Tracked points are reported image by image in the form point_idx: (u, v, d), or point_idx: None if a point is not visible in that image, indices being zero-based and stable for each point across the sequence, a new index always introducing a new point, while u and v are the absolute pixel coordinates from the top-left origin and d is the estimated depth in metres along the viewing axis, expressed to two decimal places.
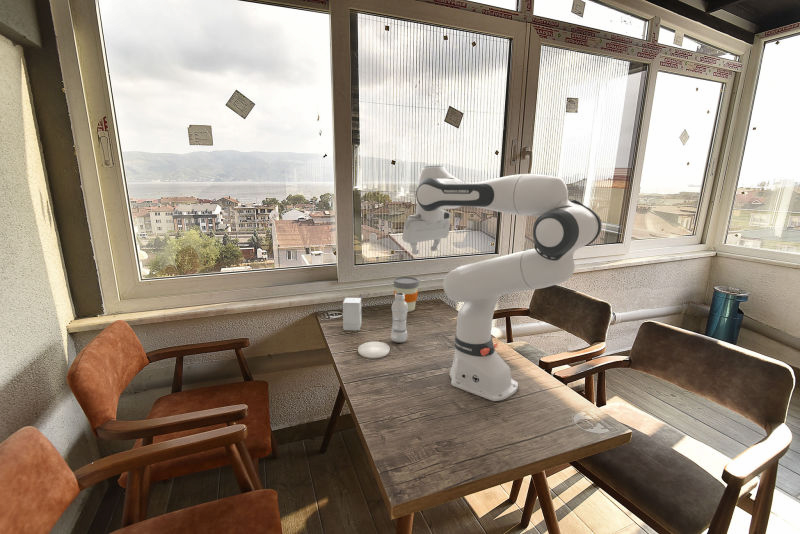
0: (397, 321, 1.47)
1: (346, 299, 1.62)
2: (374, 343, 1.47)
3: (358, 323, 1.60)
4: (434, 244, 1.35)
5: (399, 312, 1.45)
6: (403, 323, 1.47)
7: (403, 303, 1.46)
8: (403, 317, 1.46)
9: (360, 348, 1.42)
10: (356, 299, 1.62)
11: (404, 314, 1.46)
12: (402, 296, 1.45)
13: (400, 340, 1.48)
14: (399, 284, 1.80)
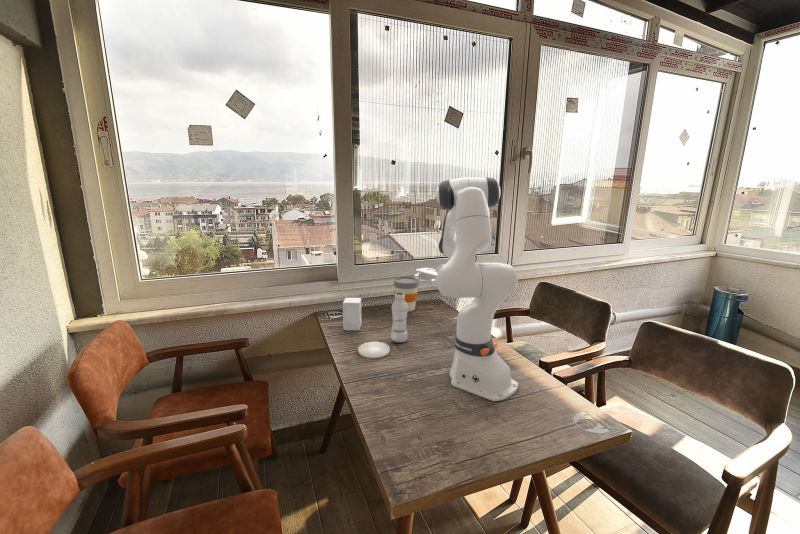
0: (397, 321, 1.47)
1: (346, 299, 1.62)
2: (374, 343, 1.47)
3: (358, 323, 1.60)
4: None
5: (399, 312, 1.45)
6: (403, 323, 1.47)
7: (403, 303, 1.46)
8: (403, 317, 1.46)
9: (360, 348, 1.42)
10: (356, 299, 1.62)
11: (404, 314, 1.46)
12: (402, 296, 1.45)
13: (400, 340, 1.48)
14: (399, 284, 1.80)
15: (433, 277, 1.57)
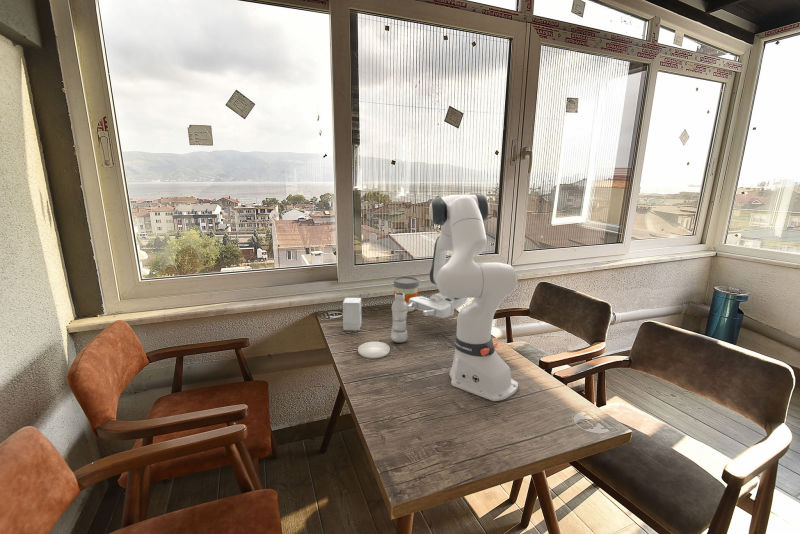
0: (397, 321, 1.47)
1: (346, 299, 1.62)
2: (374, 343, 1.47)
3: (358, 323, 1.60)
4: None
5: (399, 312, 1.45)
6: (403, 323, 1.47)
7: (403, 303, 1.46)
8: (403, 317, 1.46)
9: (360, 348, 1.42)
10: (356, 299, 1.62)
11: (404, 314, 1.46)
12: (402, 296, 1.45)
13: (400, 340, 1.48)
14: (399, 284, 1.80)
15: (426, 307, 1.57)
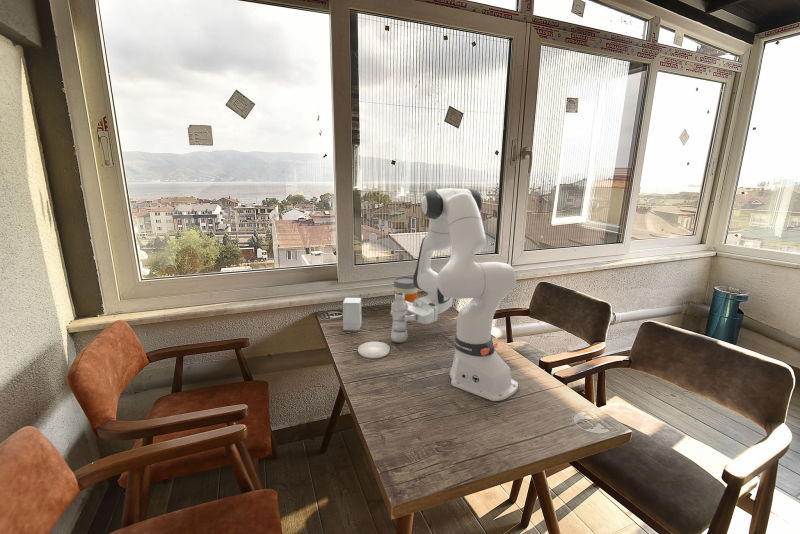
0: (397, 321, 1.47)
1: (346, 299, 1.62)
2: (374, 343, 1.47)
3: (358, 323, 1.60)
4: None
5: (399, 312, 1.45)
6: (403, 323, 1.47)
7: (403, 303, 1.46)
8: None
9: (360, 348, 1.42)
10: (356, 299, 1.62)
11: (404, 314, 1.46)
12: (402, 296, 1.45)
13: (400, 340, 1.48)
14: (399, 284, 1.80)
15: (409, 312, 1.51)
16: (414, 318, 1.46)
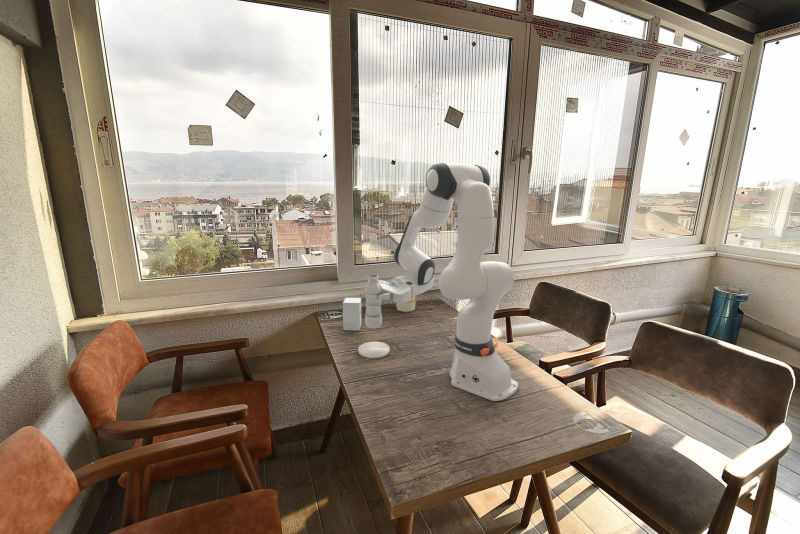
0: (371, 305, 1.36)
1: (346, 299, 1.62)
2: (374, 343, 1.47)
3: (358, 323, 1.60)
4: None
5: (373, 295, 1.34)
6: (377, 307, 1.37)
7: (377, 285, 1.35)
8: (377, 300, 1.36)
9: (360, 348, 1.42)
10: (356, 299, 1.62)
11: None
12: (376, 278, 1.35)
13: (374, 325, 1.37)
14: None
15: (384, 292, 1.40)
16: (389, 297, 1.35)
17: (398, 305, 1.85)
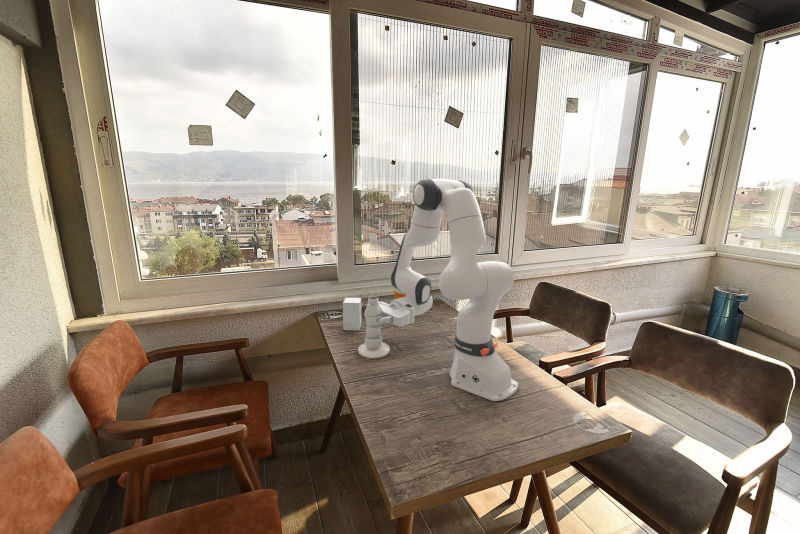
0: (371, 327, 1.38)
1: (346, 299, 1.62)
2: None
3: (358, 323, 1.60)
4: None
5: (373, 317, 1.37)
6: (377, 329, 1.39)
7: (377, 308, 1.37)
8: (377, 322, 1.38)
9: (360, 348, 1.42)
10: (356, 299, 1.62)
11: None
12: (376, 300, 1.37)
13: (374, 347, 1.40)
14: None
15: (384, 314, 1.42)
16: (389, 320, 1.37)
17: None
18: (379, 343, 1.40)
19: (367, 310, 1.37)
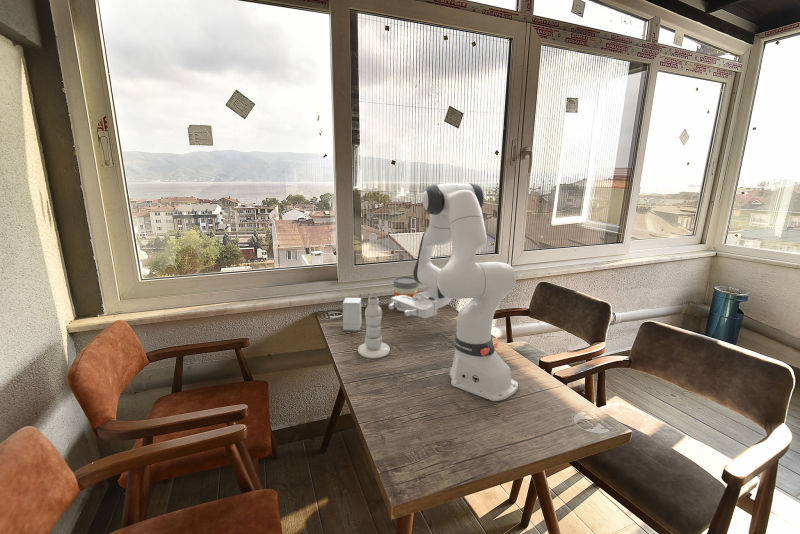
0: (371, 327, 1.38)
1: (346, 299, 1.62)
2: None
3: (358, 323, 1.60)
4: None
5: (373, 317, 1.37)
6: (377, 329, 1.39)
7: (377, 308, 1.37)
8: (377, 322, 1.38)
9: (360, 348, 1.42)
10: (356, 299, 1.62)
11: (378, 319, 1.38)
12: (376, 300, 1.37)
13: (374, 347, 1.40)
14: (398, 284, 1.80)
15: (408, 307, 1.50)
16: (415, 313, 1.45)
17: None
18: (379, 343, 1.40)
19: (367, 310, 1.37)
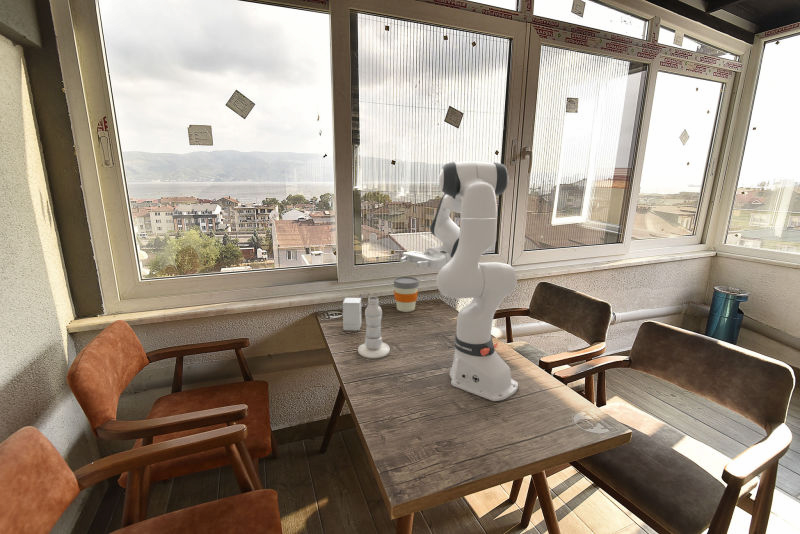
0: (371, 327, 1.38)
1: (346, 299, 1.62)
2: None
3: (358, 323, 1.60)
4: None
5: (373, 317, 1.37)
6: (377, 329, 1.39)
7: (377, 308, 1.37)
8: (377, 322, 1.38)
9: (360, 348, 1.42)
10: (356, 299, 1.62)
11: (378, 319, 1.38)
12: (376, 300, 1.37)
13: (374, 347, 1.40)
14: (399, 284, 1.80)
15: (420, 260, 1.50)
16: (428, 264, 1.45)
17: (398, 305, 1.85)
18: (379, 343, 1.40)
19: (367, 310, 1.37)
